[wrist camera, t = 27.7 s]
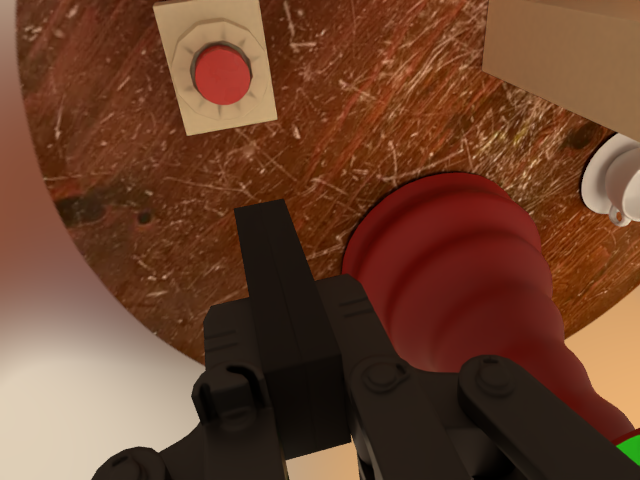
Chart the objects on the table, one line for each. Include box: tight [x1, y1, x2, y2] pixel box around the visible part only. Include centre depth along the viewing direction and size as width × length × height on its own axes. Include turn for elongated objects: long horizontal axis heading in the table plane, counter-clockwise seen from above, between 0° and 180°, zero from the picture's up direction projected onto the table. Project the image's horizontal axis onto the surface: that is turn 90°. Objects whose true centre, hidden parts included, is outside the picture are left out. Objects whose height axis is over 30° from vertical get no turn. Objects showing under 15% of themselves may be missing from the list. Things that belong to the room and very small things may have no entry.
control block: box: [153, 0, 277, 136], centre depth 35 cm, size 9×7×4 cm
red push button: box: [195, 45, 250, 105], centre depth 33 cm, size 4×4×2 cm
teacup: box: [582, 133, 640, 227], centre depth 50 cm, size 10×10×5 cm
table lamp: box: [342, 173, 640, 466], centre depth 33 cm, size 20×20×45 cm
